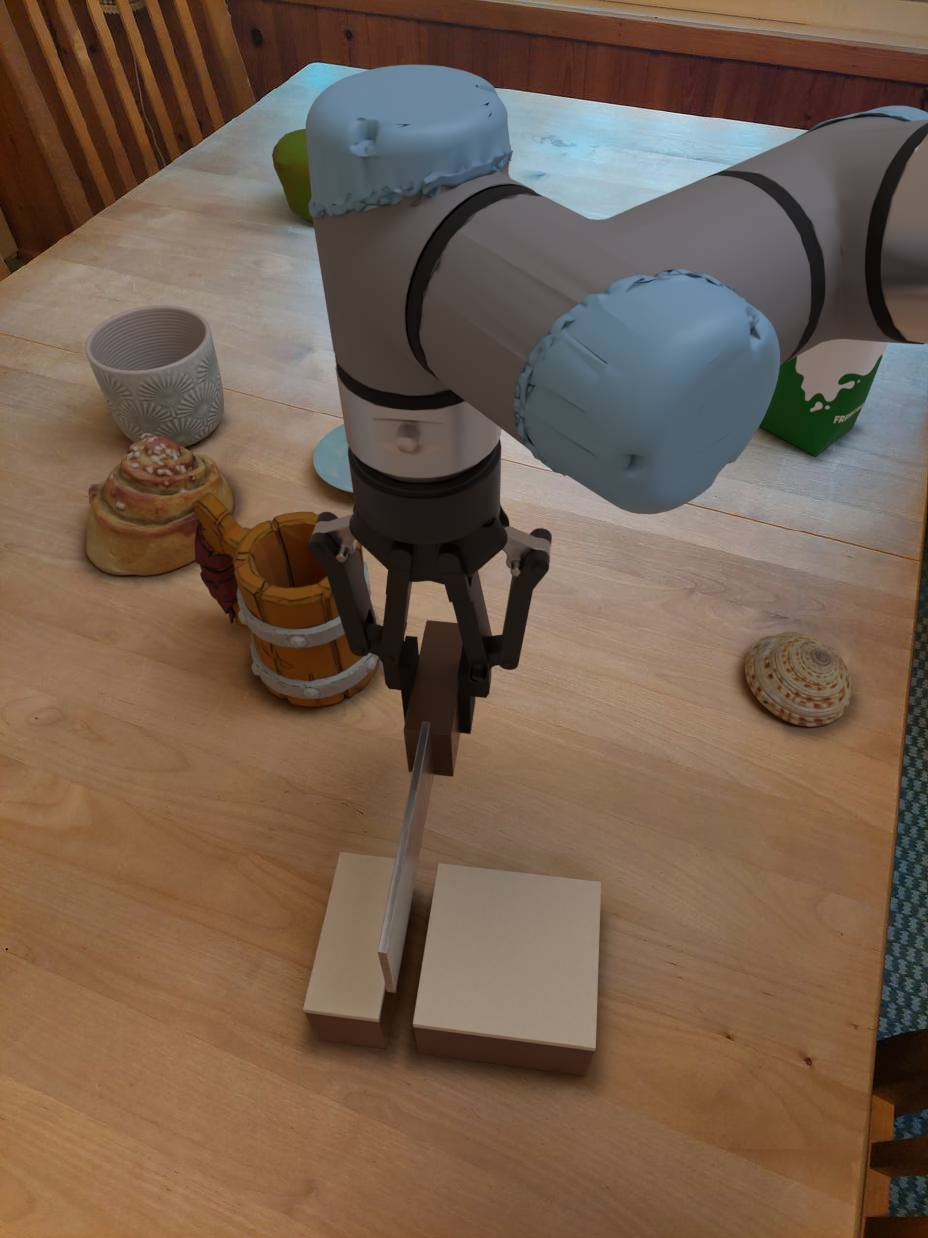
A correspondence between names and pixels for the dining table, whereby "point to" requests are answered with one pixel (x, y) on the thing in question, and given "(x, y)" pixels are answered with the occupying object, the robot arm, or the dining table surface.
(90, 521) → the pastry
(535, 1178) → the dining table surface
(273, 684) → the mug
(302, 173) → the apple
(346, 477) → the saucer
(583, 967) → the beige square block
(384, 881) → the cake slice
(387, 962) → the knife
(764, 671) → the seashell
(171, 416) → the planter
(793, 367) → the milk carton
